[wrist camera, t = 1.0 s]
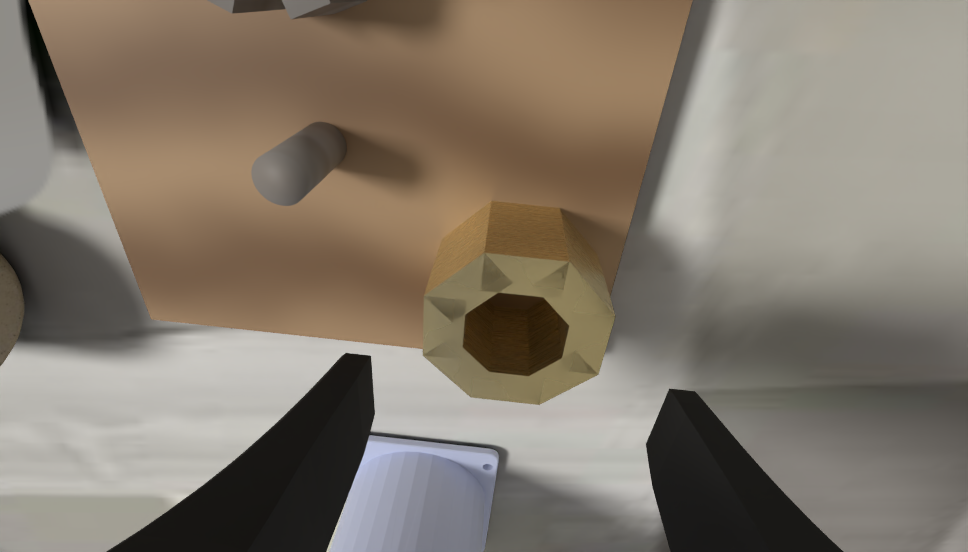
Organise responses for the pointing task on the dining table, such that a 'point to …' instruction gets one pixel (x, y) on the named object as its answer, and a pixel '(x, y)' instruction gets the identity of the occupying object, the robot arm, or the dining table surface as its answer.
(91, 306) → the dining table surface
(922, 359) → the dining table surface
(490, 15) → the board
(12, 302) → the ceramic mug
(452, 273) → the wooden octagonal nut
